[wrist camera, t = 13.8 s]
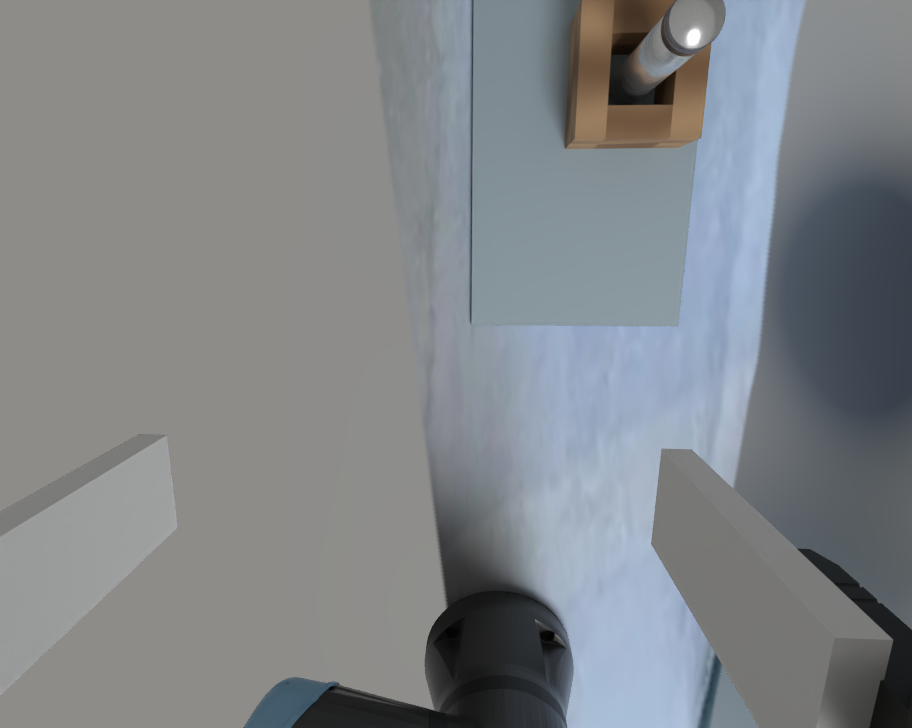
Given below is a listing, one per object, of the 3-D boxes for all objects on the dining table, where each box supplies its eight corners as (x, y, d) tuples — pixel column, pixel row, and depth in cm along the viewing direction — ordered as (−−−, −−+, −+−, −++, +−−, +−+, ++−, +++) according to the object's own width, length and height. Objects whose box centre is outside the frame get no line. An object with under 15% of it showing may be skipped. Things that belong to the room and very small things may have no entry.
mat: (676, 325, 45) (678, 326, 45) (471, 324, 46) (471, 324, 46) (711, -15, 39) (714, -17, 39) (473, -10, 40) (473, -12, 39)
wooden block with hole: (677, 147, 41) (701, 137, 37) (565, 149, 42) (575, 138, 37) (690, 21, 39) (716, -6, 35) (570, 23, 40) (582, -3, 35)
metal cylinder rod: (643, 107, 41) (723, 47, 27) (606, 108, 41) (667, 49, 27) (646, 66, 40) (729, -17, 27) (608, 67, 40) (672, -14, 27)
